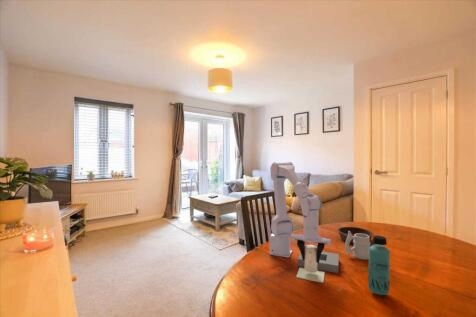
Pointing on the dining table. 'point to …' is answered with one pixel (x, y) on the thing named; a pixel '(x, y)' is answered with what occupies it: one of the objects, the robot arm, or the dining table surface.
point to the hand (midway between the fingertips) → (310, 260)
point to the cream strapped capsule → (310, 258)
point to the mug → (358, 245)
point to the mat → (311, 275)
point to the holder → (325, 262)
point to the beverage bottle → (379, 266)
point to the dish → (353, 232)
